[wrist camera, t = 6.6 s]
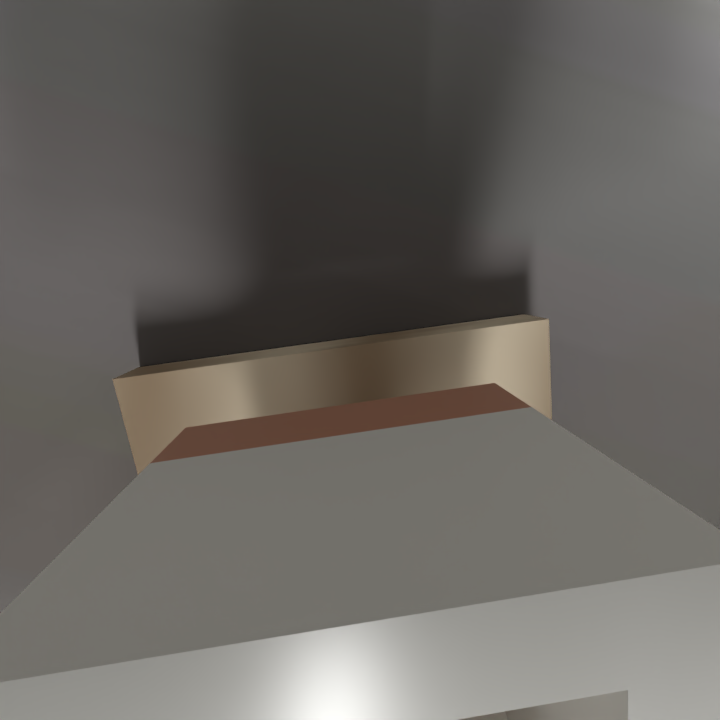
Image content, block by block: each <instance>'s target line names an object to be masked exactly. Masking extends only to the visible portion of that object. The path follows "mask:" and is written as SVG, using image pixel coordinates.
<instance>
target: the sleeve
mask: <svg viewBox="0 0 720 720" xmlns="http://www.w3.org/2000/svg"><path fill="white" fill-rule="evenodd" d="M0 720H720V530H719V529H717V528H716V527H714V526H713V525H711V524H710V523H708V522H707V521H705V520H704V519H702V518H701V517H699V516H698V515H696V514H694V513H693V512H691V511H690V510H688V509H687V508H685V507H684V506H682V505H681V504H679V503H678V502H676V501H675V500H673V499H672V498H670V497H668V496H667V495H665V494H664V493H662V492H661V491H659V490H658V489H656V488H655V487H653V486H652V485H650V484H649V483H647V482H646V481H644V480H642V479H641V478H639V477H638V476H636V475H635V474H633V473H632V472H630V471H629V470H627V469H626V468H624V467H623V466H621V465H620V464H618V463H616V462H615V461H613V460H612V459H610V458H609V457H607V456H606V455H604V454H603V453H601V452H600V451H598V450H597V449H595V448H593V447H592V446H590V445H589V444H587V443H586V442H584V441H583V440H581V439H580V438H578V437H577V436H575V435H574V434H572V433H571V432H569V431H567V430H566V429H564V428H563V427H561V426H560V425H558V424H557V423H555V422H554V421H552V420H551V419H549V418H548V417H546V416H545V415H543V414H541V413H540V412H538V411H537V410H535V409H534V408H532V407H531V406H529V405H528V404H526V403H525V402H523V401H522V400H520V399H519V398H517V397H515V396H514V395H512V394H511V393H509V392H508V391H506V390H505V389H503V388H502V387H500V386H499V385H497V384H496V383H490V384H483V385H476V386H469V387H462V388H455V389H448V390H441V391H434V392H428V393H421V394H414V395H407V396H400V397H393V398H386V399H379V400H372V401H365V402H359V403H352V404H345V405H338V406H331V407H324V408H317V409H310V410H303V411H296V412H290V413H283V414H276V415H269V416H262V417H255V418H248V419H241V420H234V421H227V422H221V423H214V424H207V425H200V426H193V427H186V428H185V429H184V430H183V431H182V432H181V433H180V434H179V435H178V436H177V437H176V438H175V439H174V440H173V441H172V442H171V443H170V444H169V445H168V446H167V447H166V448H165V449H164V450H163V451H162V452H161V453H160V454H159V455H158V456H157V457H156V458H155V459H154V460H153V461H152V462H151V463H150V464H149V465H148V466H147V467H146V468H145V469H144V470H143V471H142V472H141V473H140V474H139V475H138V476H137V477H136V478H135V479H134V480H133V481H132V482H131V483H130V484H129V485H128V486H127V487H126V488H125V489H124V490H123V491H122V492H121V493H120V494H119V495H118V496H117V497H116V498H115V499H114V500H113V501H112V502H111V503H110V504H109V505H108V506H107V507H106V508H105V509H104V510H103V511H102V512H101V513H100V514H99V515H98V516H97V517H96V518H95V519H94V520H93V521H92V522H91V523H90V524H89V525H88V526H87V527H86V528H85V529H84V530H83V531H82V532H81V533H80V534H79V535H78V536H77V537H76V538H75V539H74V540H73V541H72V542H71V543H70V544H69V545H68V546H67V547H66V548H65V549H64V550H63V551H62V552H61V553H60V554H59V555H58V556H57V557H56V558H55V559H54V560H53V561H52V562H51V563H50V564H49V565H48V566H47V567H46V568H45V569H44V570H43V571H42V572H41V573H40V574H39V575H38V576H37V577H36V578H35V579H34V580H33V581H32V582H31V583H30V584H29V585H28V586H27V587H26V588H25V589H24V590H23V591H22V592H21V593H20V594H19V595H18V596H17V597H16V598H15V599H14V600H13V601H12V602H11V603H10V604H9V605H8V606H7V607H6V608H5V609H4V610H3V611H2V612H1V613H0Z"/></svg>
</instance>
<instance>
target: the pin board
mask: <svg viewBox="0 0 720 720" xmlns="http://www.w3.org/2000/svg"><path fill="white" fill-rule="evenodd" d="M113 383H114V386H115V390H116V394H117V398H118V401H119V405H120V409H121V413H122V416H123V420H124V424H125V428H126V431H127V435H128V439H129V443H130V447H131V450H132V454H133V458H134V462H135V465H136V469H137V473H138V475H139V474H140V473H141V472H142V471H143V470H144V469H145V468H146V467H147V466H148V465H149V464H150V463H151V462H152V461H153V460H154V459H155V458H156V457H157V456H158V455H159V454H160V453H161V452H162V451H163V450H164V449H165V448H166V447H167V446H168V445H169V444H170V443H171V442H172V441H173V440H174V439H175V438H176V437H177V436H178V435H179V434H180V433H181V432H182V431H183V430H184V429H185V428H186V427H193V426H200V425H207V424H214V423H221V422H227V421H234V420H241V419H248V418H255V417H262V416H269V415H276V414H283V413H290V412H296V411H303V410H310V409H317V408H324V407H331V406H338V405H345V404H352V403H359V402H365V401H372V400H379V399H386V398H393V397H400V396H407V395H414V394H421V393H428V392H434V391H441V390H448V389H455V388H462V387H469V386H476V385H483V384H490V383H496V384H497V385H499V386H500V387H502V388H503V389H505V390H506V391H508V392H509V393H511V394H512V395H514V396H515V397H517V398H519V399H520V400H522V401H523V402H525V403H526V404H528V405H529V406H531V407H532V408H534V409H535V410H537V411H538V412H540V413H541V414H543V415H545V416H546V417H548V418H549V419H551V420H552V407H551V374H550V342H549V319H546V318H541V317H535V316H530V315H525V314H522V315H515V316H508V317H500V318H493V319H486V320H479V321H471V322H464V323H457V324H449V325H442V326H435V327H428V328H420V329H413V330H406V331H399V332H391V333H384V334H377V335H369V336H362V337H355V338H348V339H340V340H333V341H326V342H319V343H311V344H304V345H297V346H289V347H282V348H275V349H268V350H260V351H253V352H246V353H238V354H231V355H224V356H217V357H209V358H202V359H195V360H188V361H180V362H173V363H166V364H158V365H151V366H144V367H138V368H136V369H134V370H132V371H130V372H128V373H125V374H123V375H121V376H119V377H117V378H114V379H113Z"/></svg>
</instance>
